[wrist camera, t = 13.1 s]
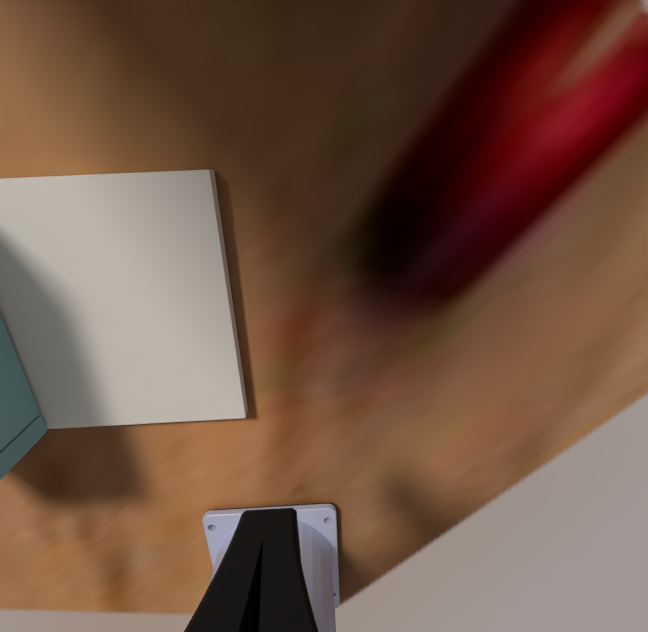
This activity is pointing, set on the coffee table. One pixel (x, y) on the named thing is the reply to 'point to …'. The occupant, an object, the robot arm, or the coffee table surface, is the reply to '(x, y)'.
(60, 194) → the base plate
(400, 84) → the coffee table surface
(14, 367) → the cover
